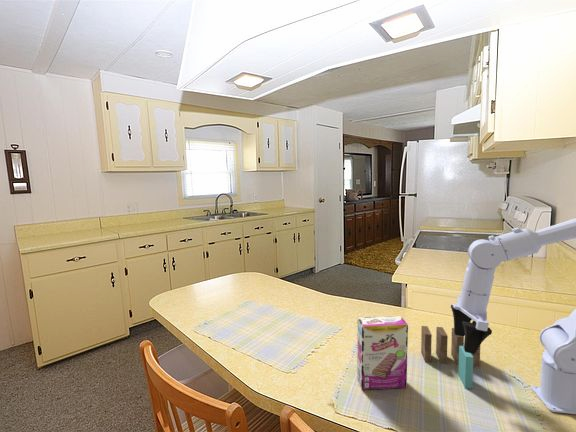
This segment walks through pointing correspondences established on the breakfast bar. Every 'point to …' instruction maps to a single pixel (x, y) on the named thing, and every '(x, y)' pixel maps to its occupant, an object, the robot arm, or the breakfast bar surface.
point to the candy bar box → (382, 352)
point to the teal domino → (465, 367)
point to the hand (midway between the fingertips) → (464, 343)
